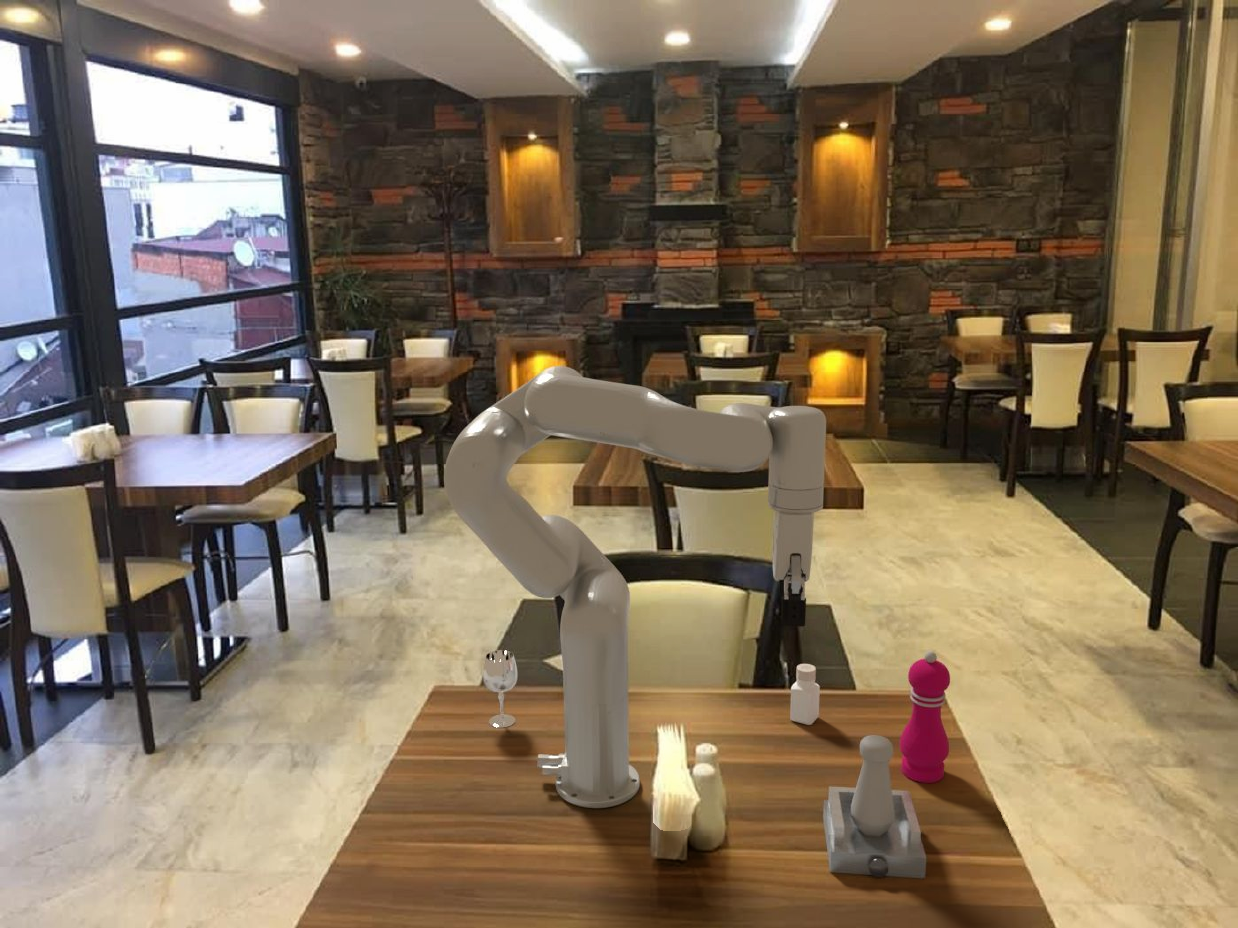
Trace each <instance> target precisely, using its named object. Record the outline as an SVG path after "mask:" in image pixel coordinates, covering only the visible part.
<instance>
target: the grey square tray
mask: <svg viewBox="0 0 1238 928" xmlns="http://www.w3.org/2000/svg"><path fill="white" fill-rule="evenodd" d="M855 790H856V787H845V786H844V787H843V786H828V798H827V799H823V811H822V812H823V813H822V814H823V816H822V820H823V827H824V828H823V829H824V836H825V843H826V849H827V850H826V852H827V858H828V867H829V873H835V874H836V873H838V874H852V875H868V876H872V877H875V878H883V877H893V878H894V877H897V878H909V879H910V878H911V879H912V878H913V879H922V880H923V879H926V869H927V854H926V852H925V848H924V844H923V841H922V838H921V836H922V835H921V834H922V832H921V828H920V825H919V821H918V818H917V814H916V811H915V807H914V804H913V801H912V797H911V792H910V791H909V790H898V789H892V796H893V804H894V812H895V819H894V821H893V823H892V825H891V826H890V828H889V830H888V831H887V832H885V833H884V834H882V835H881V836H870V835H865V834H863V833H862V832H861V831H860V830H858V829H857V828H856V826H855V823H854V821H853V818H852V816H851V804H852V800H853V797H854V793H855Z"/></svg>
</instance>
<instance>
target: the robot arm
mask: <svg viewBox="0 0 1238 928" xmlns="http://www.w3.org/2000/svg"><path fill="white" fill-rule="evenodd" d="M826 417H827V416H826V414H825V413H824V412H823V411H822V410H821V409H820V408H816V407H814V406H809V405H807V406H805V405H789V406H782V407H777V406H776V407H775V406H767V405H761V404H753V403H746V402H737V403H731V404H729V405H727V406H725V407H723V408H722V409H721V410H720V411H719V412H715V411H708V410H703V409H699V408H693V407H689V406H687V405H684V404H680V403H677V402H675V401H673V400H670V399H669V398H667V397H665V396H663V395H661V394H660V393H658V392H657V391H655V390H653V389H650V388H647V387H645V386H642V385H641V386H640V385H635V384H634V385H633V384H626V383H622V382H621V383H620V382H615V381H614V382H613V381H608V380H607V381H606V380H601V379H594V378H589V377H583V376H582V374H581V373H579V371H577V370H575V369H573V368H571V367H568V366H564V365H563V366H562V365H558V366H557V365H556V366H551V367H548V368H545V369H544V370H542V371H541V372H540V373H538V374H536V375H535V376H534V377H532V378H531V379H530V380H529V381H527V382H525V383H524V384H523V385H521V386H520V387H518V388H516V389H515V390H513V391H512V392H511V393H509V394H507V395H506V396H505V397H503V398H501V399H500V400H499V401H497V402H496V403H494V404H492V405H491V406H489V407H488V408H486V409H485V410H484V411H482V412H481V413H480V414H478V415H477V416H476V417H475V418H474V419H473V420H472V421H471V422H469V424H467V426H465V427H464V428H463V430H462V431H461V432H460V433H459V434H458V436H457V437H456V439H455V440H454V442H453V444H452V446H451V448H450V450H449V453H448V454H447V455H448V456H447V458H446V461H445V466H444V472H443V473H444V474H443V485H444V491H445V494H446V497H447V500H448V501H449V503H450V506H451V508H452V509H453V510H454V512H455V513H456V515H457V516H458V517H459V518H460V520H462V521H463V523H464V524H465V525H466V526H467V527H468V528H469V529H470V530H471V531H472V532H473V533H474V534H475V535H476V537H478V538H479V540H480V541H481V542H483V544H484V546H486V547H487V549H488V550H489V551H490V552H491V554H493V556H494V557H495V558H496V559H497V560H498V561H499V562H500V563H501V564H502V565H503V566H504V567H505V568H506V570H507V571H508V572H509V573H510V574H511V575H512V576H513V578H514V579H516V581H517V582H518V583H519V584H520V585H521V586H522V587H523V588H524V589H525V590H526V591H528V592H529V594H531V595H533V596H536V597H538V598H542V599H552V598H556V597H558V596H560V597H561V598H562V600H564V604H563V605H564V606H563V609H562V612H561V618H560V623H559V624H560V625H559V626H560V628H559V631H560V632H559V636H560V637H559V638H560V639H559V641H560V648H561V649H560V650H561V658H562V659H561V661H562V681H563V684H562V685H563V710H564V712H563V713H564V716H563V717H564V748H565V750H564V753H561V752H560V753H558V755H554V754H553V755H552V754H546V753H545V754H543V753H542V754H541V753H538V755H537V762H536V763H537V767H538V768H541V769H542V770H541V774H542V775H544V776H545V775H546V776H553V775H554V776H555V789H556V791H557V793H558V795H559V797H560V798H562V799H563V800H565V801H566V802H568V803H570V804H572V805H575V806H577V807H580V808H581V807H582V808H587V809H605V808H610V807H615V806H618V805H621V804H623V803H625V802H627V801H629V800H630V799H632V798H633V797H634V796H635V795H636V794H637V793H638V791H639V788H640V786H641V785H640V775H639V773H638V771H637V769H635V767H633V766H632V765H631V764H630V746H629V745H630V744H629V743H630V740H629V739H630V738H629V735H630V733H629V732H630V728H629V725H630V723H629V721H630V720H629V717H630V715H629V714H630V712H629V651H628V650H629V649H628V648H629V646H628V644H629V643H628V642H629V618H630V604H631V592H630V588H629V586H628V583H627V581H626V579H625V578H624V576H623V575H622V573H621V572H620V571H619V570H618V569H617V567H616V566H615V565H614V564H613V563H612V562H611V561H610V559H608V558H607V556H605V553H603V552H602V551H601V550H600V549H599V547H597V546H596V544H595V543H594V542H593V541H592V540H591V539H590V538H589V537H588V535H586V533H584V531H583V530H582V529H581V528H580V527H579V526H577V525H576V524H575V523H574V522H572V521H571V520H569V519H567V518H566V517H564V516H561V515H555V514H547V515H540V514H539V513H538V512H537V511H536V510H535V508H534V507H533V506H532V505H531V503H529V501H527V500H526V498H524V497H523V496H522V495H521V494H520V493H519V492H517V491H516V490H515V489H513V488H512V487H511V485H510V484H509V482H508V478H507V477H508V474H509V472H510V470H512V468H513V466H514V465H515V464H516V463H517V461H518V459H519V458H520V457H521V456H522V455H523V454H525V453H526V452H528V451H529V450H530V449H532V448H534V447H535V446H537V445H539V443H541V442H543V441H544V440H546V439H547V438H549V437H550V436H555V437H562V438H567V439H573V440H578V441H579V440H580V441H581V440H582V441H586V442H593V443H599V444H606V445H612V446H618V447H624V448H629V449H630V448H631V449H635V450H639V451H640V452H643V453H646V454H649V455H654V456H657V457H660V458H664V459H666V460H670V461H674V462H677V463H680V464H681V463H682V464H684V465H685V464H686V465H688V466H689V465H691V466H694V467H700V468H705V469H707V468H708V469H714V470H720V471H726V472H735V473H740V472H741V473H745V472H750V471H755V470H756V469H759V468H760V467H762V466H763V465H764V464H765V463H766V462H767V461H768V460H769V461H768V483H767V485H768V487H767V488H768V490H767V491H768V493H767V494H768V495H767V506H768V508H769V509H770V510H772V511H774V514H773V515H774V519H773V534H772V535H773V539H772V560H771V561H772V573H773V574H772V575H773V579H774V580H775V581H776V582H779V586H778V587H779V588H778V589H779V590H778V591H779V592H778V598H779V599H780V600H781V621H780V623H781V625H782V626H783V627H801V628H802V627H805V625H806V614H807V613H806V611H807V610H806V609H807V597H806V588H805V587H806V582H808V581H809V580H810V577H811V576H810V575H811V567H812V555H813V544H814V543H813V540H814V521H815V517H814V516H815V513H816V512H820V511H821V510H823V508H824V489H825V488H824V484H825V483H824V482H825V463H826V461H825V460H826V442H827V441H826V437H827V436H826V435H827V418H826Z"/></svg>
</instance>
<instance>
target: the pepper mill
mask: <svg viewBox="0 0 1238 928" xmlns="http://www.w3.org/2000/svg"><path fill="white" fill-rule="evenodd" d="M923 657H924V658H921V659H918V660H916V661H915V662H913V663H912V664H911V665H910V668H909V671H908V675H907V678H908V683H909V684H910V686H911V689H910V700H911V701H912V705H913V707H912V712H911V716H910V718H909V721H908V723H907V724H906V725H905V727H904V729H903V731H902V733H901V735H900V738H899V749H900V752H901V754H902V755H903V756H902V757H901V758H902V759H901V764H900V765H901V772H902V773H903V775H904V776H905V777H906V778H907V779H910V780H912V781H915V782H919V783H922V784H923V783H924V784H930V783H937V782H939V781H941V780H942V779H943V778H944V775H945V763H944V761H945V760H946V759H947V758H948V756H949V752H950V742H949V739H948V735H947V732H946V729H945V727H944V724H943V720H942V711H941V710H942V706H943V705H944V704H945V703H946V699H945V698H946V692H945V691H946V690H948V688H949V686H950V683H951V675H950V672H949V669H948V667H947V666H946V665H945V664H944V663H942V662H941V661H939V660H937V657H938V656H937V654H936V652H934V651H932V650H928V651H927V652H925V653H924V655H923Z"/></svg>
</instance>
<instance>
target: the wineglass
mask: <svg viewBox="0 0 1238 928" xmlns="http://www.w3.org/2000/svg"><path fill="white" fill-rule="evenodd" d="M483 662H484V663H483V669H482V678H483V683H484V685H485V687H486V688H487V689H488V690H489V691H491V692H494V693H498V696H497V699H498V702H499V707H500V708H499V710H500V711H499V714H496V715H494V716H492V717H490V719H489V721H488V723H489V725H490V726H492V727H494V728H500V729H501V728H507V727H510V726H513V724H514V723H516V718H515V717H514V716H513V715H511V714H507V713H506V714H505V713H504V699H505V694H504V693H506V692H509V691H511V690H512V689H513V688H514V687H515V686H516V684H517V681H518V666H517V663H516V658H515V656H514V653H513V652H511V651H509V650H505V649H497V650H493V651H490V652H488V653H486V655H485V657H484V661H483Z"/></svg>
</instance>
